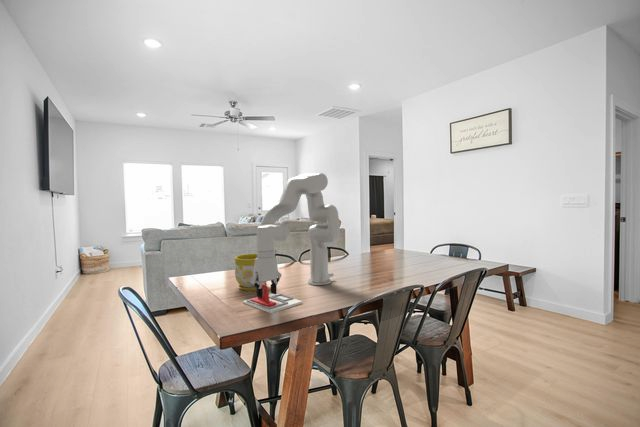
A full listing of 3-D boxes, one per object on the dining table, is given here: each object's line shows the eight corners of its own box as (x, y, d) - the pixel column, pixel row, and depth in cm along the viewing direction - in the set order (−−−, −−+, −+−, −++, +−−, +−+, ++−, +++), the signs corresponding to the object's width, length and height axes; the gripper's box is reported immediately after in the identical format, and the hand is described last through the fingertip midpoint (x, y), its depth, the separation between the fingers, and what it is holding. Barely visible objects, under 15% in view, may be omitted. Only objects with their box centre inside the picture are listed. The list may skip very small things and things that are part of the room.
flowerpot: (262, 281, 186) (261, 252, 185) (276, 288, 171) (275, 256, 170) (230, 286, 176) (229, 255, 175) (242, 294, 161) (241, 260, 160)
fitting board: (274, 294, 159) (273, 291, 159) (302, 303, 145) (302, 299, 145) (243, 303, 147) (243, 299, 147) (271, 313, 133) (270, 309, 133)
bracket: (251, 301, 145) (250, 283, 145) (259, 299, 149) (259, 281, 148) (267, 307, 137) (266, 288, 137) (276, 305, 140) (275, 286, 140)
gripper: (276, 251, 152) (277, 290, 153) (243, 256, 140) (244, 298, 140) (287, 252, 147) (287, 292, 147) (253, 258, 134) (255, 301, 135)
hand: (266, 295), depth 144 cm, fingers open, 6 cm apart
